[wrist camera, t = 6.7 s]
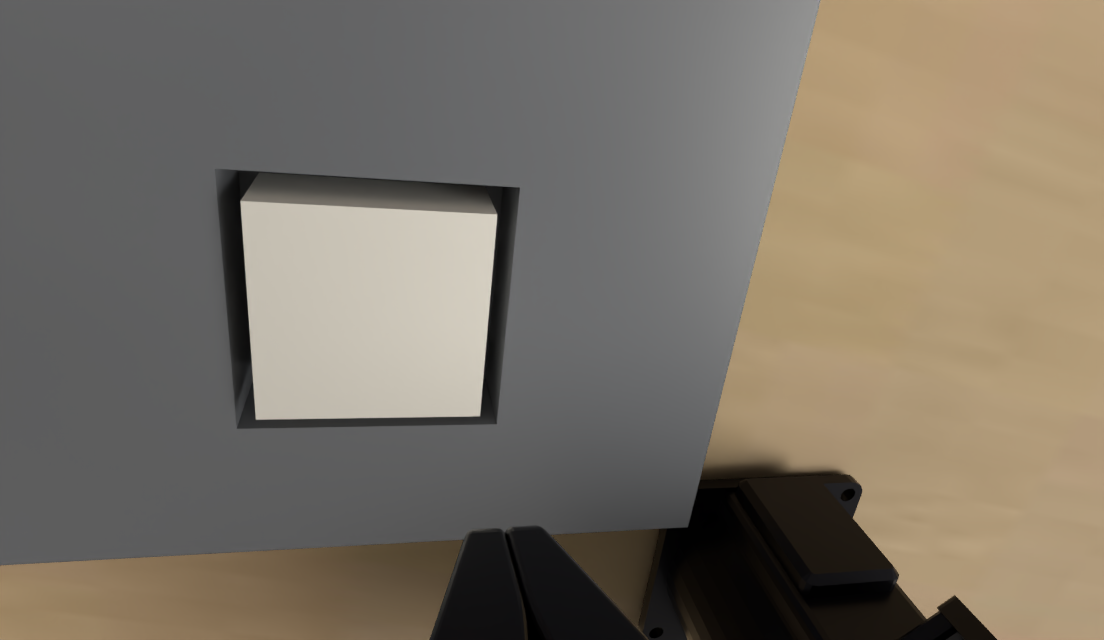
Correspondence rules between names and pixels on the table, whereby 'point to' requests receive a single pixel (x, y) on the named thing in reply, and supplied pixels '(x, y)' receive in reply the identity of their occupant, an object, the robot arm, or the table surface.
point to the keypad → (382, 154)
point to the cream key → (367, 296)
